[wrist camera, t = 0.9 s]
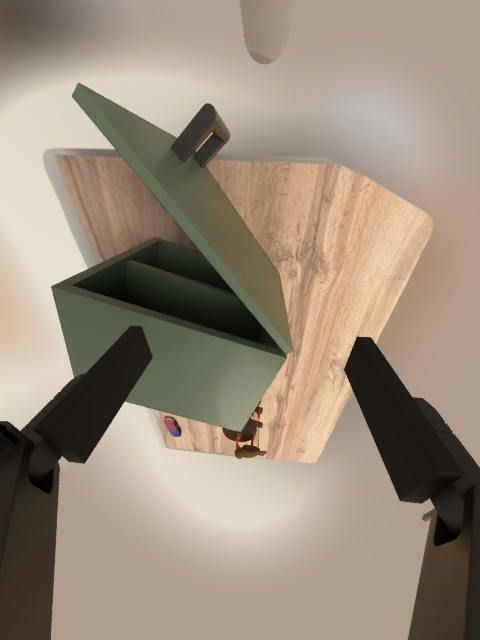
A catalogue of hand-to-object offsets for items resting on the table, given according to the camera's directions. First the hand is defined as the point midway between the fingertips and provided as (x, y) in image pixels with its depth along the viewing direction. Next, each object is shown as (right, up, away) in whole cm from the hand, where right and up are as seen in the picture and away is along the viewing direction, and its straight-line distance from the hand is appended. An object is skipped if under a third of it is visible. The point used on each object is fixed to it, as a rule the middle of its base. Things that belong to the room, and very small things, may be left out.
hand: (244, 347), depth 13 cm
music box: (+1, -21, +53) cm, 57 cm away
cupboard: (-8, +8, +34) cm, 36 cm away
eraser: (-27, -40, +69) cm, 84 cm away
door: (+2, +22, +24) cm, 32 cm away
